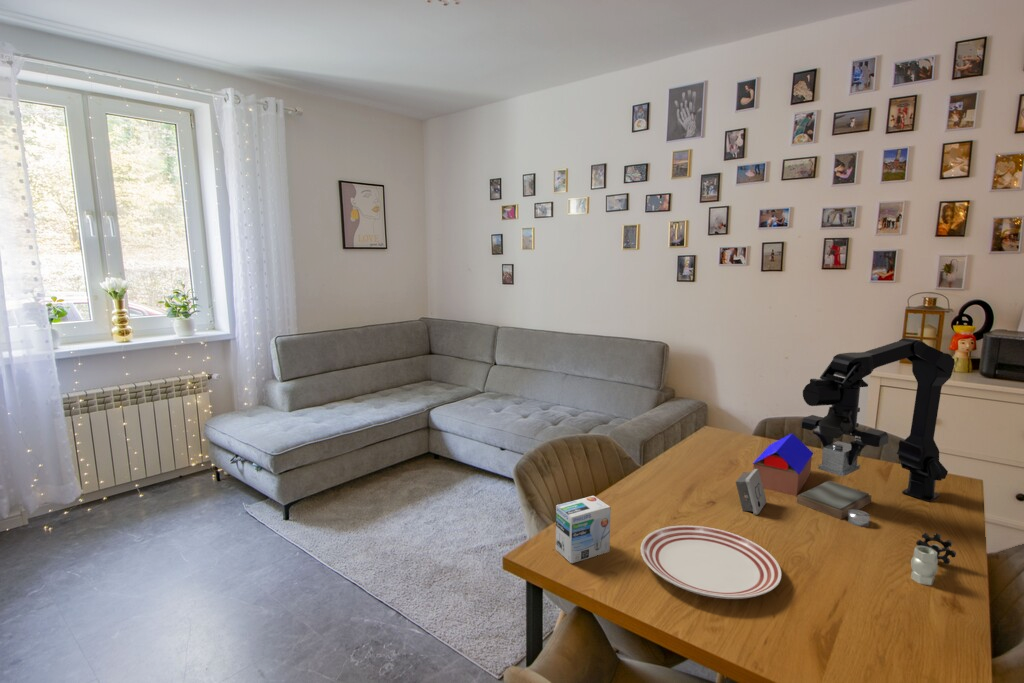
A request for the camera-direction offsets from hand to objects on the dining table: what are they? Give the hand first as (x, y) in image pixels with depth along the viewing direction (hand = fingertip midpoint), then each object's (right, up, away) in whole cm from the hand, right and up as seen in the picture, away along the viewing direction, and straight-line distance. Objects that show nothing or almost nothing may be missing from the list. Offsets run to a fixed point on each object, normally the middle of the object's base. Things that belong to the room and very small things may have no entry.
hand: (839, 461), depth 136 cm
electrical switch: (-23, -12, +1) cm, 26 cm away
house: (-6, -10, +17) cm, 21 cm away
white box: (-70, -16, -19) cm, 74 cm away
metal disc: (-1, -13, -8) cm, 15 cm away
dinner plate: (-44, -17, -26) cm, 54 cm away
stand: (0, -11, +2) cm, 12 cm away
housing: (0, -2, 0) cm, 2 cm away
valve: (0, -17, -29) cm, 33 cm away
